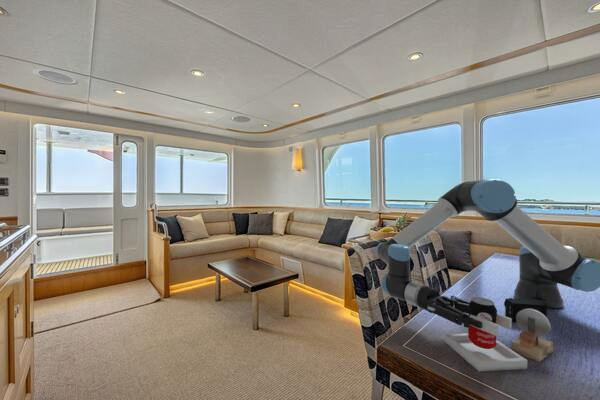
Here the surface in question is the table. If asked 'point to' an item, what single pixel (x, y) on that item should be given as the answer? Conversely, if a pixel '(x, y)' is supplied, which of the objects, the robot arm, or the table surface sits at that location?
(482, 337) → the beverage can
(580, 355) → the table surface
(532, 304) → the digital camera
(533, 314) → the pulley stand
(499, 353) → the tray
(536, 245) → the robot arm
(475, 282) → the table surface
